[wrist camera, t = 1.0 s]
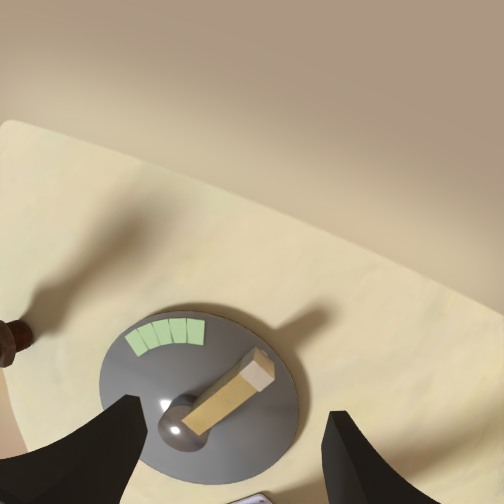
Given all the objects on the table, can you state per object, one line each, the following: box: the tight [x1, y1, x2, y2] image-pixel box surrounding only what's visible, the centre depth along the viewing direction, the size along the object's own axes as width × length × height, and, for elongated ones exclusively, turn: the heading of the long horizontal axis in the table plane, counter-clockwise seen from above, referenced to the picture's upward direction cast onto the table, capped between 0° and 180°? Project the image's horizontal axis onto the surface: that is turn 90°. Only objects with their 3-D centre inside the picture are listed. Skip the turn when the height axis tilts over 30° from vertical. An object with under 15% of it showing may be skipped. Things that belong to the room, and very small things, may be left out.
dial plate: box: [99, 311, 299, 485], centre depth 24 cm, size 18×18×1 cm
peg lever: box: [158, 346, 275, 452], centre depth 22 cm, size 11×4×3 cm, turn 135°
